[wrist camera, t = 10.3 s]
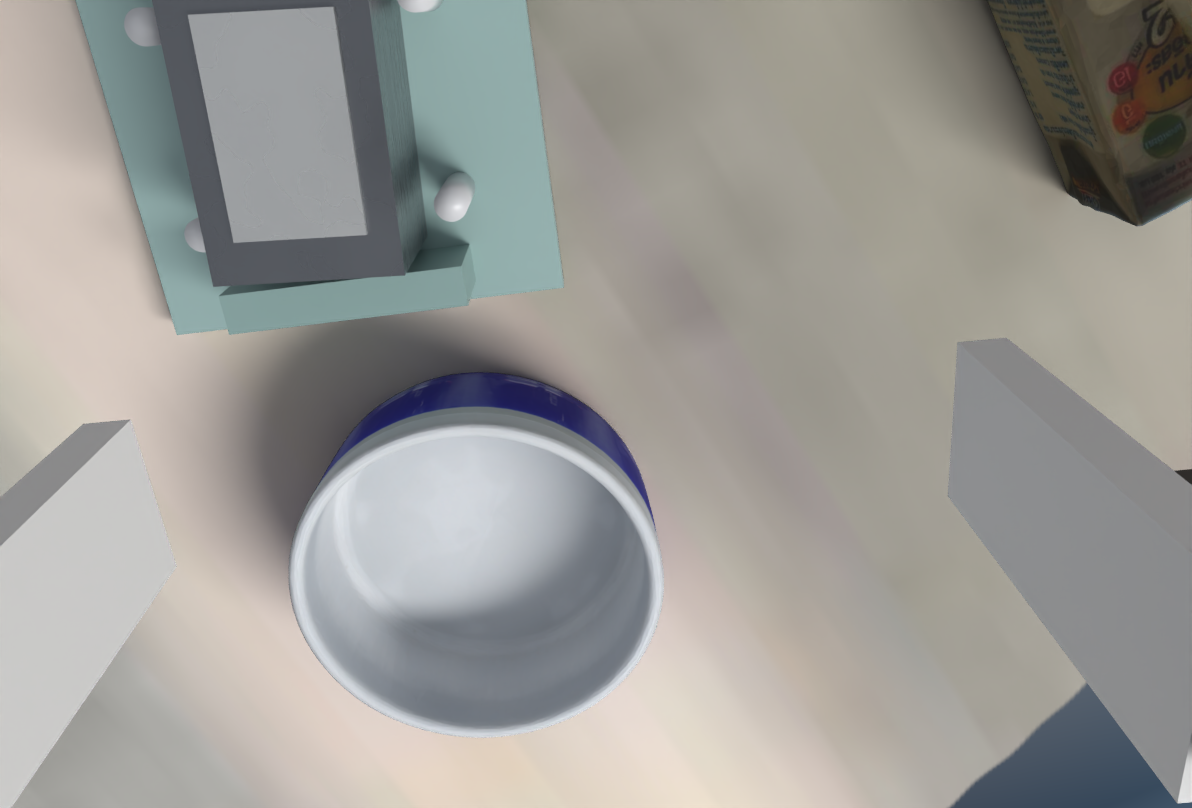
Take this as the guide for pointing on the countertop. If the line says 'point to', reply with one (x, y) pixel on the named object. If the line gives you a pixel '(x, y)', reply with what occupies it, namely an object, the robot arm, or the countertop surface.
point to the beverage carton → (1109, 96)
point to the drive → (296, 136)
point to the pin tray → (445, 153)
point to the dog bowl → (479, 558)
